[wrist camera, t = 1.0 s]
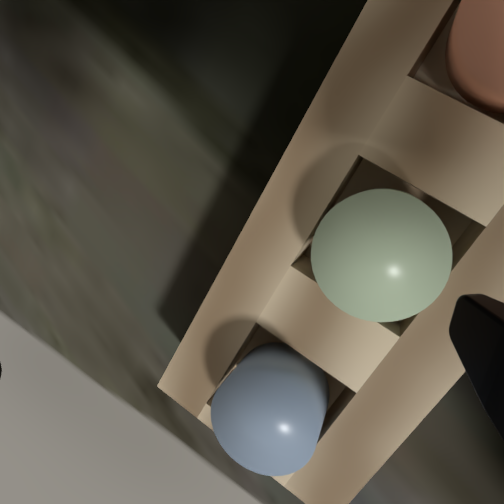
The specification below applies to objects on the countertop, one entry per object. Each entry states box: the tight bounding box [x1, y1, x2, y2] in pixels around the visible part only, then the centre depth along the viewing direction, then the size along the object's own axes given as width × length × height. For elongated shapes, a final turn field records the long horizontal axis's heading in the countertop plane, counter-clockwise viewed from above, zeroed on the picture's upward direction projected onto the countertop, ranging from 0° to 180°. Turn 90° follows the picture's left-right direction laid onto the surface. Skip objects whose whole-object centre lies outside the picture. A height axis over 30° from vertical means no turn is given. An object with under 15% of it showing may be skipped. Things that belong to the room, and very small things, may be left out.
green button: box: [311, 188, 452, 322], centre depth 14 cm, size 4×4×3 cm
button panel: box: [157, 0, 504, 504], centre depth 16 cm, size 10×23×4 cm, turn 150°
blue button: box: [211, 342, 330, 476], centre depth 17 cm, size 4×4×3 cm
